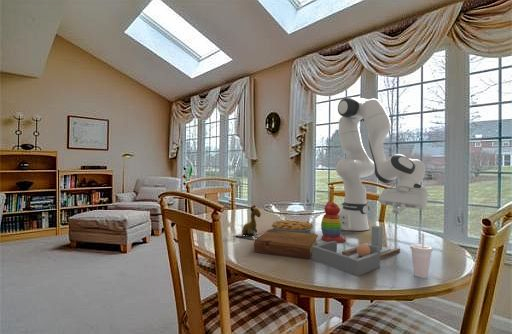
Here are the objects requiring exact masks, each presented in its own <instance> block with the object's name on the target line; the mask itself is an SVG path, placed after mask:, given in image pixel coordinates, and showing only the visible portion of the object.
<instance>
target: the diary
mask: <svg viewBox="0 0 512 334" xmlns="http://www.w3.org/2000/svg"><path fill="white" fill-rule="evenodd" d="M263 233H264V234H261V236H257V237H258V238H257V239H255V240H253V241H254V242H253V253H255V252H256V253H257V254H264V255H272V256H273V255H274V256H281V257H288V258H296V259H303V260H304V259H305V260H312V246H315V245H317V238H318V237H319V234H316V233H309V234H307V233H296V232H285V231H274V229H273V230H272V229H268V230H266V231H265V232H263Z"/></svg>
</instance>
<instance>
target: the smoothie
mask: <svg viewBox="0 0 512 334" xmlns="http://www.w3.org/2000/svg"><path fill="white" fill-rule="evenodd" d="M409 249H410V251H411V259H412V267H413V274H414V276H415V277H418V278H421V279H425V278H426V279H427V278H428V275H429V268H430V262H431V261H430V260H431V257H432V252H433V247H432V246H430V245H428V244H425V233H424V232H422V233H421V243H410V245H409Z"/></svg>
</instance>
